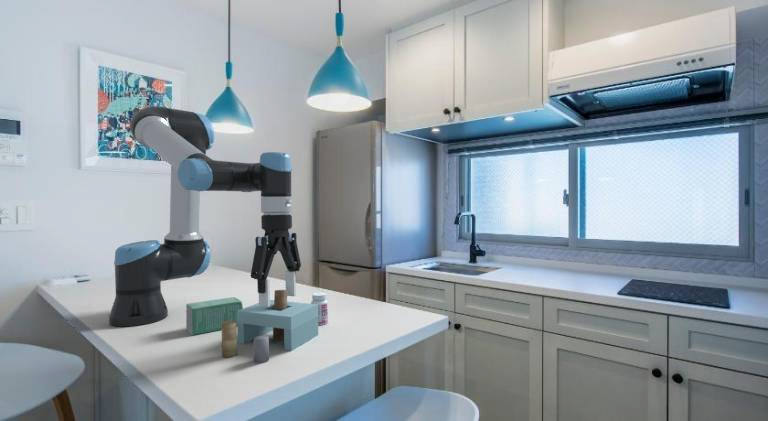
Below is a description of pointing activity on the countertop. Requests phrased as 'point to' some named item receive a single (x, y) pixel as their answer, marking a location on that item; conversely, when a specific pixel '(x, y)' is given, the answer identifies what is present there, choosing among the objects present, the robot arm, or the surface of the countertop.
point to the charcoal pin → (261, 349)
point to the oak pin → (229, 339)
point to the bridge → (279, 322)
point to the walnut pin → (279, 305)
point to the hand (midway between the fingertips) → (278, 300)
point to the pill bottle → (321, 307)
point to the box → (211, 314)
